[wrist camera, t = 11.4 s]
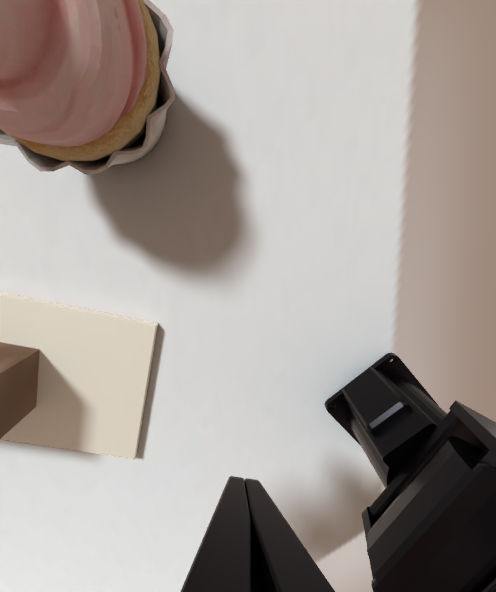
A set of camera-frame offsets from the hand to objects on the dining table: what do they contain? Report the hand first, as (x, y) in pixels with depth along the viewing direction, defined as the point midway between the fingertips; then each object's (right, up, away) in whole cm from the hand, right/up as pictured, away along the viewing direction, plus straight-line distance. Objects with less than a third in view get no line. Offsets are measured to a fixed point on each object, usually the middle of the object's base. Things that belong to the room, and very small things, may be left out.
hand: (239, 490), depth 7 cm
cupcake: (-8, +16, +8) cm, 20 cm away
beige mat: (-16, 0, +12) cm, 20 cm away
